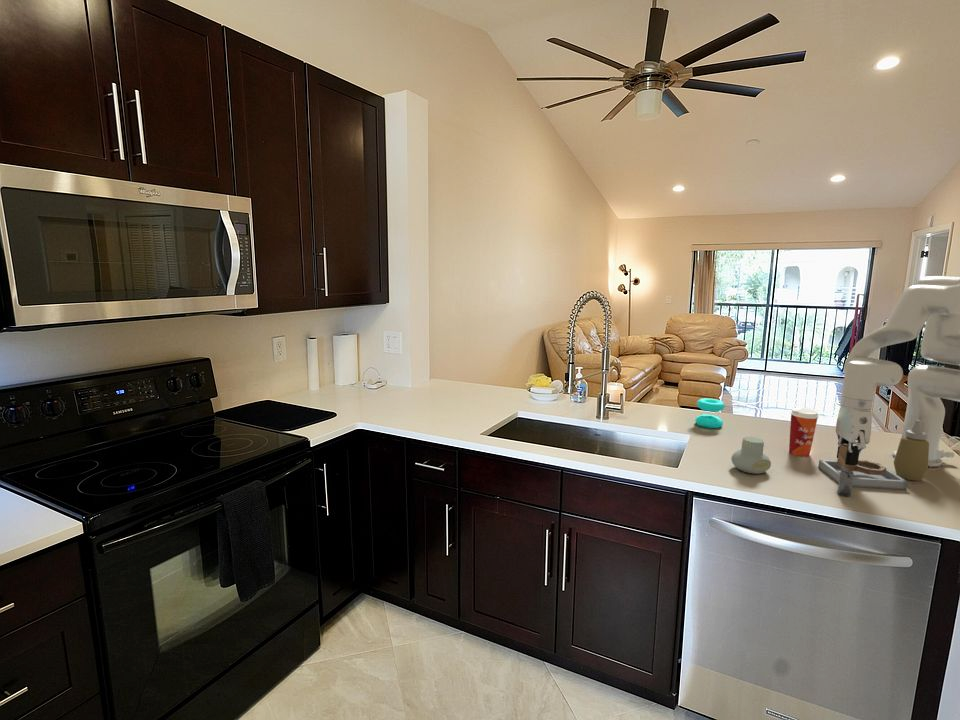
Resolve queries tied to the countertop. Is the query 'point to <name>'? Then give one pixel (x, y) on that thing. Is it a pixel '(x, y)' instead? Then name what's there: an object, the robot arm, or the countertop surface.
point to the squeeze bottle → (912, 454)
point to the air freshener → (751, 456)
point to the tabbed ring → (859, 463)
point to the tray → (865, 477)
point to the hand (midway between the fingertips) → (846, 461)
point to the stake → (845, 482)
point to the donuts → (712, 406)
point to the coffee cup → (802, 431)
